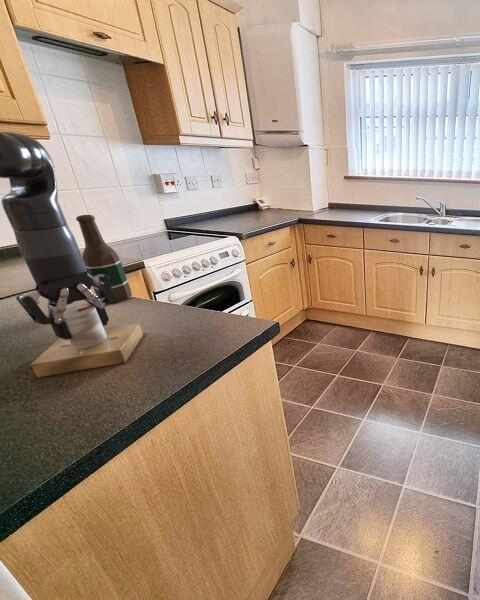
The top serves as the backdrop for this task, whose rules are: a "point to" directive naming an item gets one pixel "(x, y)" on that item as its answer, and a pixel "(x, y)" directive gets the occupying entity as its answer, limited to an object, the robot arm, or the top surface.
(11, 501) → the top surface
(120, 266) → the beer bottle
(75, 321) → the white short cylinder
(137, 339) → the wooden board
